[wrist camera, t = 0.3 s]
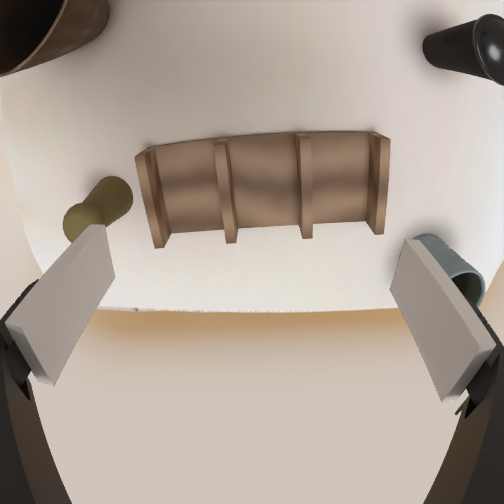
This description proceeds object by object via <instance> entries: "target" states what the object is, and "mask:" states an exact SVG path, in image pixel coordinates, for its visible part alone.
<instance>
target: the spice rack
mask: <svg viewBox="0 0 504 504" xmlns="http://www.w3.org/2000/svg"><path fill="white" fill-rule="evenodd" d="M135 162H136V167H137V172H138V177H139V182H140V187H141V191H142V196H143V201H144V205H145V209H146V214H147V218H148V222H149V227H150V231H151V235H152V239H153V243H154V247H155V249H156V248H164V246H165V244H166V243H167V241H168V239H169V237H170V235H171V233H183V232H196V231H210V230H223V229H224V231H225V238H226V244H229V243H236V240H237V233H238V228H252V227H268V226H284V225H299V227H300V231H301V235H302V238H303V239H309V238H312V230H313V224H319V223H338V222H358V221H366V222H367V224H368V225H369V227H370V228H371V230H372V231H373V233H374V234H375V235H379V234H384V226H385V216H386V206H387V194H388V181H389V164H390V139H389V138H387V137H385V136H383V135H381V134H379V133H377V132H356V131H326V132H291V133H272V134H257V135H244V136H233V137H222V138H213V139H204V140H196V141H188V142H181V143H174V144H167V145H161V146H154V147H148V148H147V149H145V150H144V151H142V152H141V153H139V154H138V155H136V156H135Z"/></svg>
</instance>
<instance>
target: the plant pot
mask: <svg viewBox="0 0 504 504" xmlns="http://www.w3.org/2000/svg"><path fill="white" fill-rule="evenodd" d="M108 18H109V6H108V2H107V0H0V77H3V76H6V75H9V74H12V73H15V72H18V71H21V70H24V69H28V68H31V67H34V66H36V65H39V64H42V63H45V62H47V61H50V60H53V59H55V58H58V57H60V56H62V55H65V54H67V53H69V52H71V51H73V50H75V49H77V48H79V47H81V46H83V45H85V44H87V43H88V42H90V41H92V40H93V39H95V38H96V37H97V36H98V35H99V34H100V33H101V32H102V31H103V29H104V28H105V26H106V24H107V21H108Z"/></svg>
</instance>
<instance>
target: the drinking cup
mask: <svg viewBox="0 0 504 504" xmlns="http://www.w3.org/2000/svg"><path fill="white" fill-rule="evenodd" d="M423 52H424V55H425V57H426V59H427V60H428V61H429V63H431V64H432V65H433V66H435V67H437V68H442V69H447V70H452V71H457V72H461V73H466V74H470V75H474V76H478V77H482V78H486V79H489V80H493V81H494V82H496V83H497V84H499V85H502V86H504V19H503V18H502V17H500V16H498V15H494V14H486V15H483V16H481V17H480V18H479V19H477V20H474V21H471V22H467V23H464V24H461V25H458V26H455V27H452V28H449V29H446V30H443V31H440V32H437V33H434V34H432V35H429V36H427V37H426V38H425V40H424V42H423Z"/></svg>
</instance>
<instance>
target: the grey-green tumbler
mask: <svg viewBox="0 0 504 504" xmlns="http://www.w3.org/2000/svg"><path fill="white" fill-rule="evenodd" d="M413 240H420V241H421V243H422V244H423V245H424V246H425V247H426V249H427V250H428V251H429V252H430V253H431V255H432V256H433V257H434V258H435V260H436V261H437V262H438V263H439V265H440V266H441V267H442V268H443V270H444V271H445V272H446V273H447V275H448V276H449V277H450V279H451V280H452V281H453V283H454V284H455V285H456V287H457V288H458V289H459V291H460V292H461V293H462V295H463V296H464V297H465V298H468V299H469V300H470V301H471V302H472V303H474V304H475V305H476V306H477V308H478V307H479V306H480V304H481V302H482V300H483V297H484V293H485V282H484V279H483V277H482V275H481V274H480V273H479V272H478V271H477V270H475V269H474V268H473V267H472V266H471V265H470V264H468V263H467V262H465V260H464V259H463V258H461V257H460V256H459V255H458V254H457V253H456V252H454V251H453V250H452V249H449V247H448V246H447V245H446V244H445V243H444V242H443V241H442V240H440V239H439V238H438V237H436V236H434V235H431V234H424V235H420V236H417V237H415V238H414V239H413ZM400 255H401V254H400Z"/></svg>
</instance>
